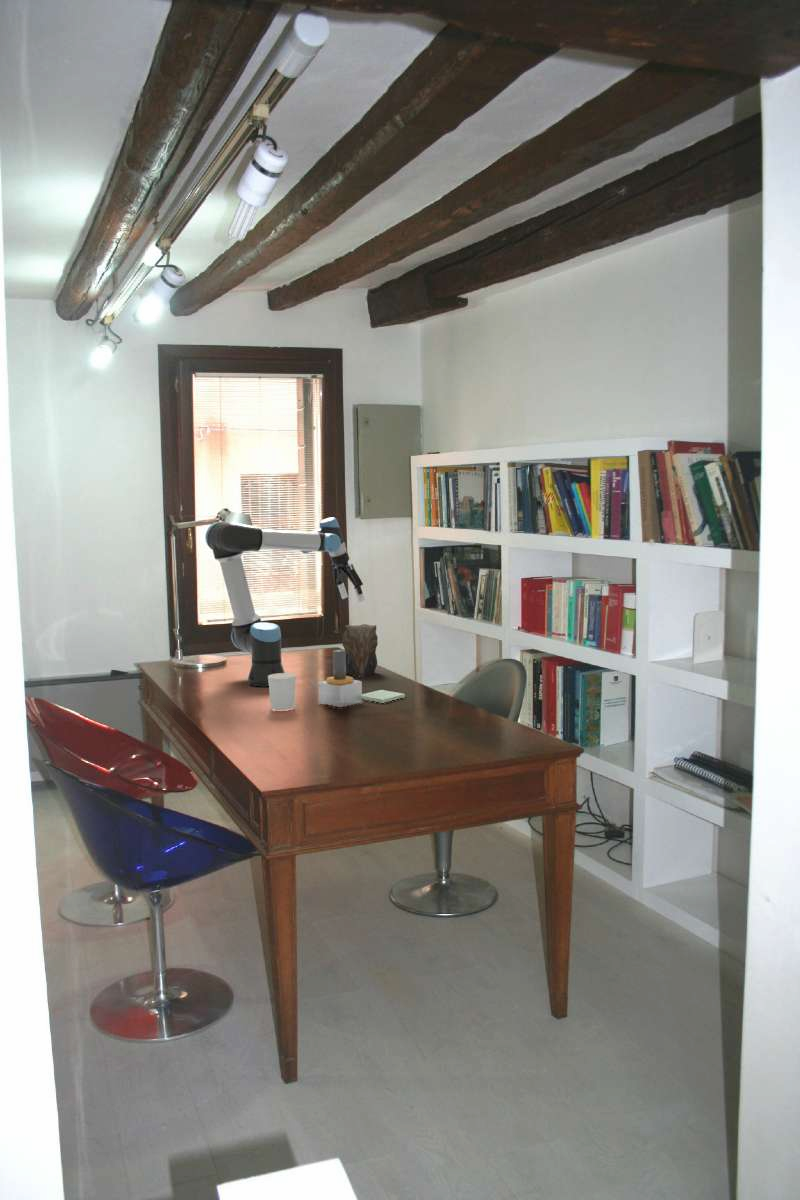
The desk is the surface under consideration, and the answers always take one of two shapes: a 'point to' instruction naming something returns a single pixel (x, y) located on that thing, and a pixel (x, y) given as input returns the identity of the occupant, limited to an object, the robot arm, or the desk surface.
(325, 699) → the block
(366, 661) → the owl
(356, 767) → the desk surface
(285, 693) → the candle holder
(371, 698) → the mat
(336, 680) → the end cover
